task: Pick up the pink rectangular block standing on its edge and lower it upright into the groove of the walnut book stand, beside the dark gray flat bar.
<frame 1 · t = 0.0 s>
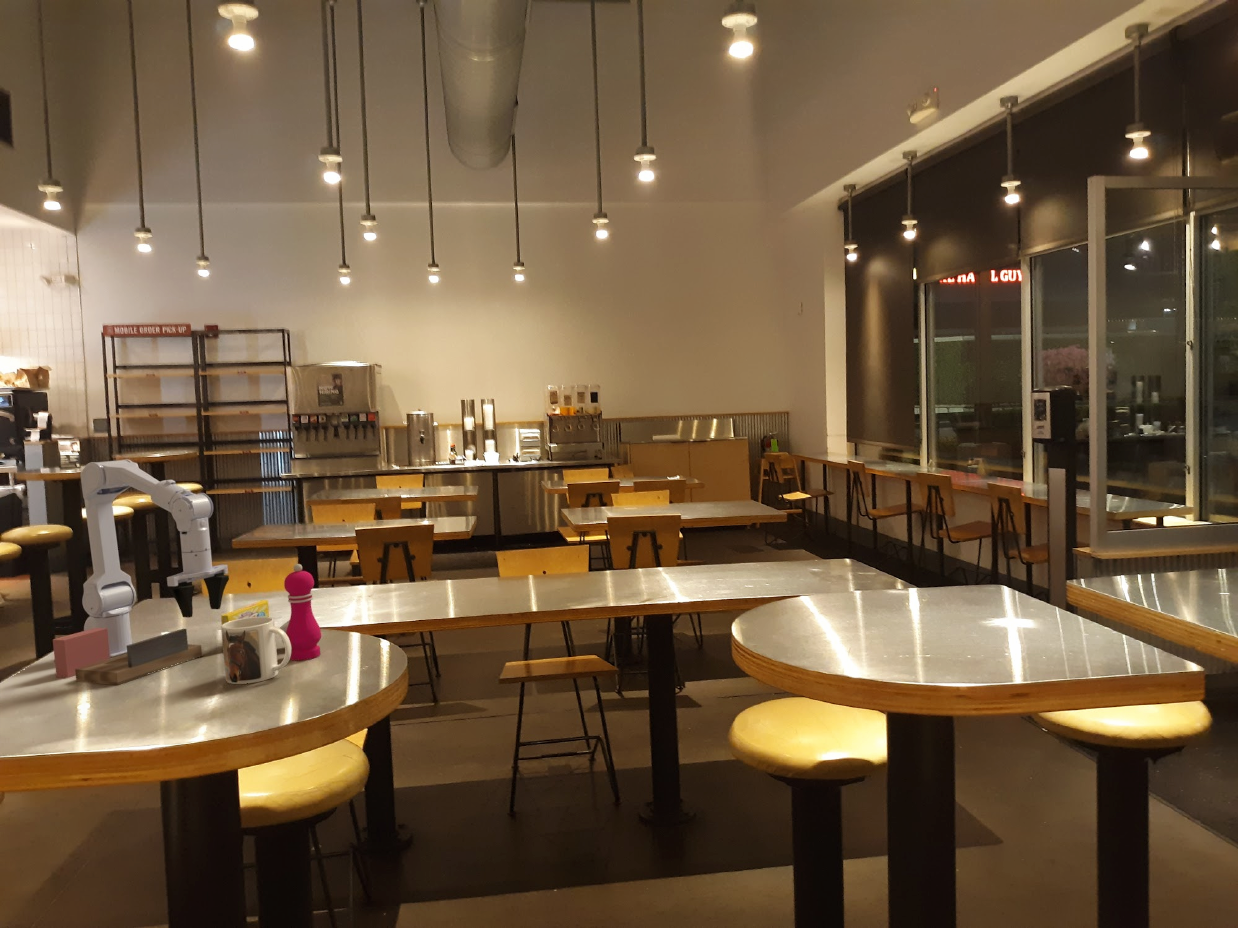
hand: (201, 612, 203), 10 cm above the table, tool pointing down, fingers open, 7 cm apart
candy box: (247, 643, 217), on the table
dark gray flat bar: (160, 669, 197), resting on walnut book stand
mug: (256, 678, 187), on the table
pepper mill: (305, 657, 201), on the table
white lumpy rounded piece: (295, 648, 209), on the table
pink rectangular block: (84, 670, 200), on the table
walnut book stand: (137, 667, 200), on the table
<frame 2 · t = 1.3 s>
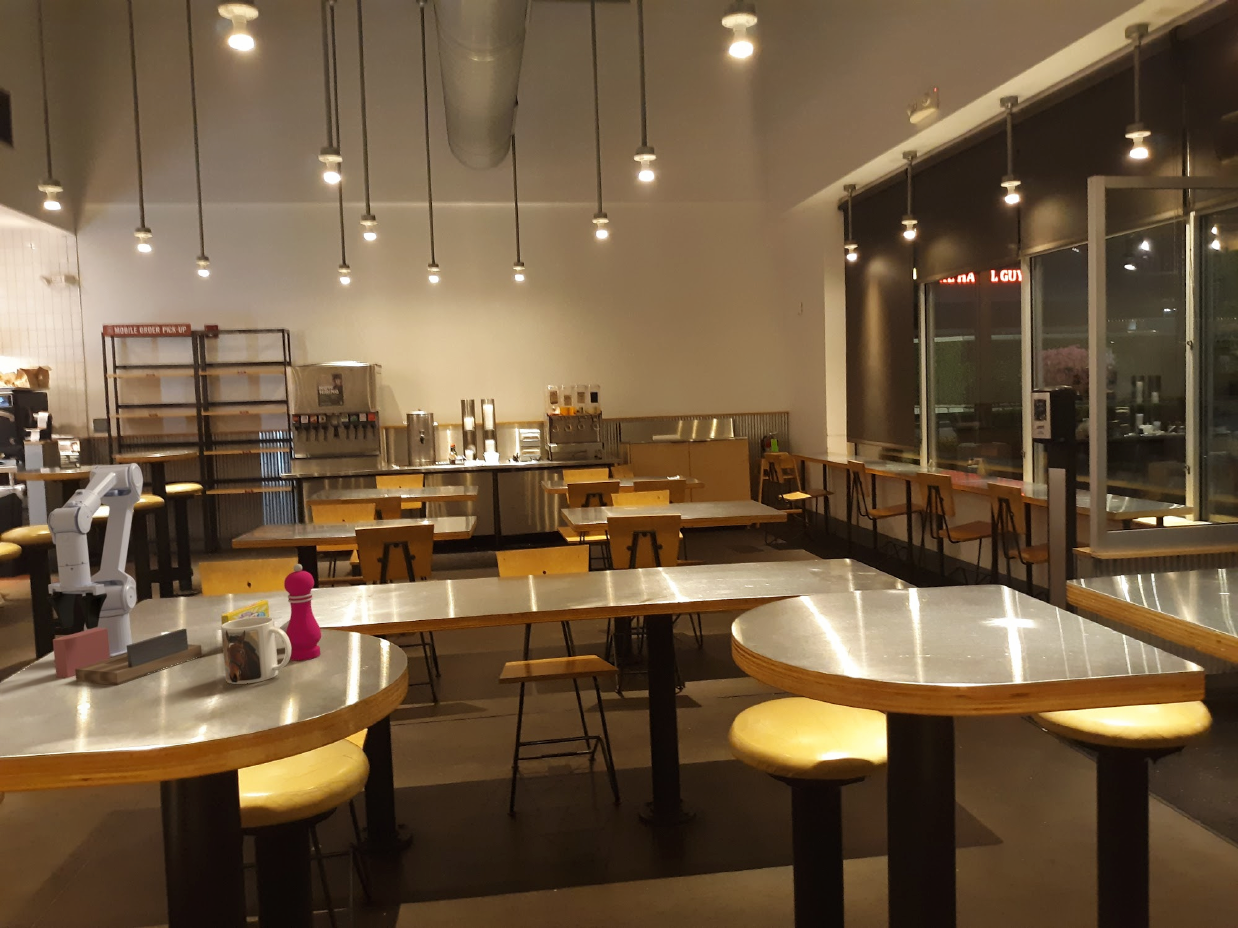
hand: (79, 627, 200), 9 cm above the table, tool pointing down, fingers open, 7 cm apart
nothing on the table moved.
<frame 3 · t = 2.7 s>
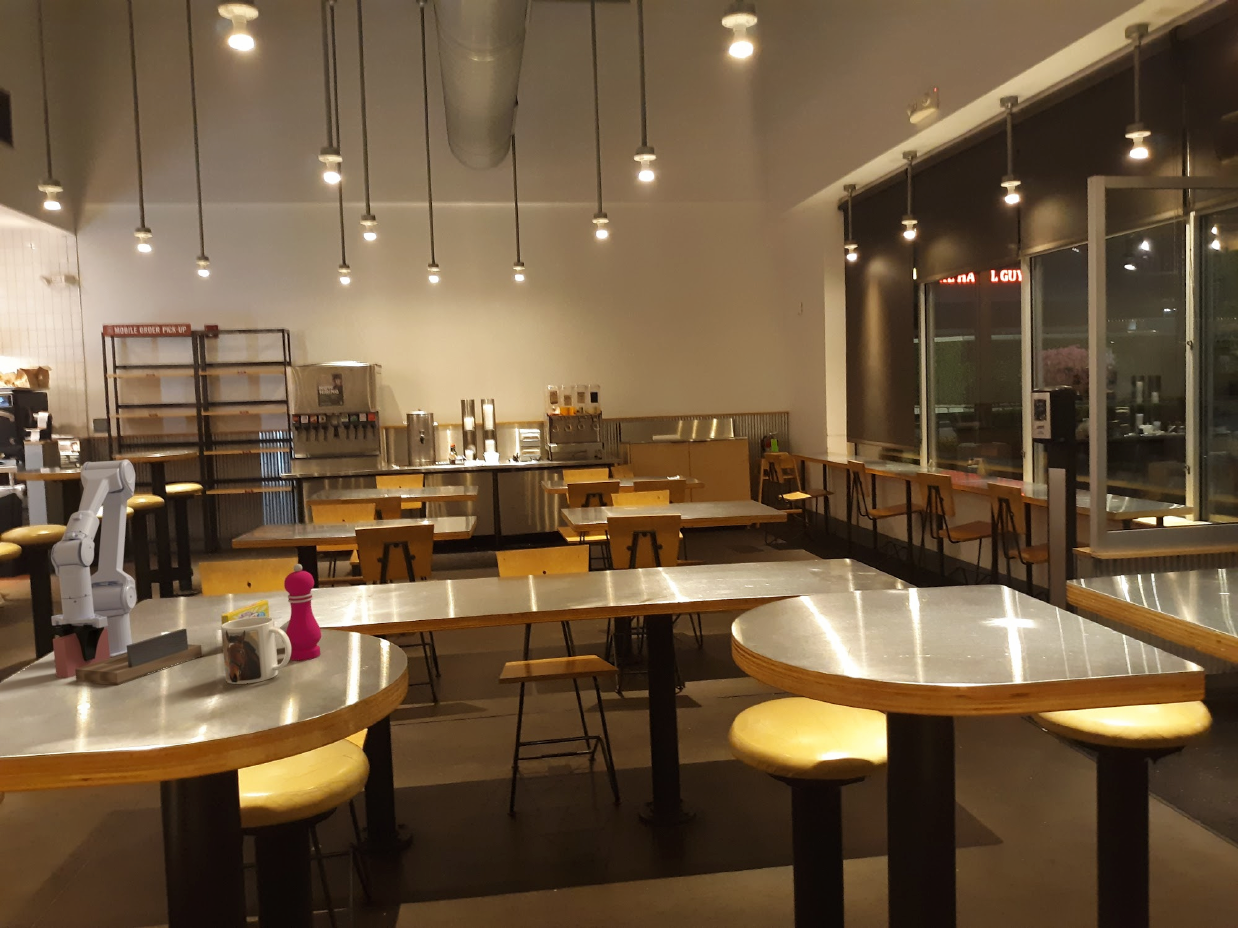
hand: (83, 659, 200), 2 cm above the table, tool pointing down, fingers closed on pink rectangular block, 3 cm apart
pink rectangular block: (84, 670, 200), on the table, touching gripper
everything else where it was.
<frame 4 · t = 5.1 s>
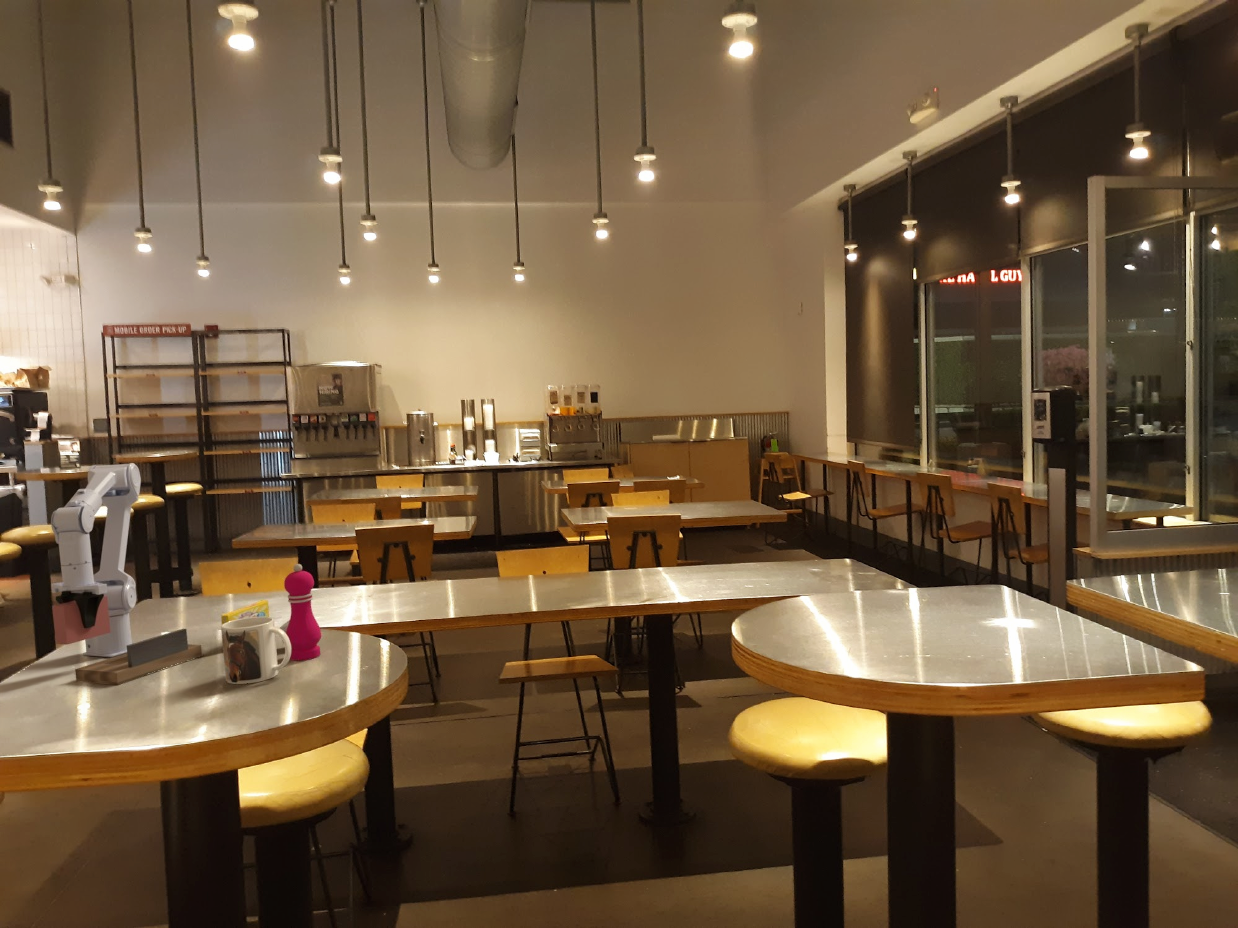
hand: (82, 626, 200), 9 cm above the table, tool pointing down, fingers closed on pink rectangular block, 3 cm apart
pink rectangular block: (83, 637, 200), point 7 cm above the table, touching gripper
everything else where it was.
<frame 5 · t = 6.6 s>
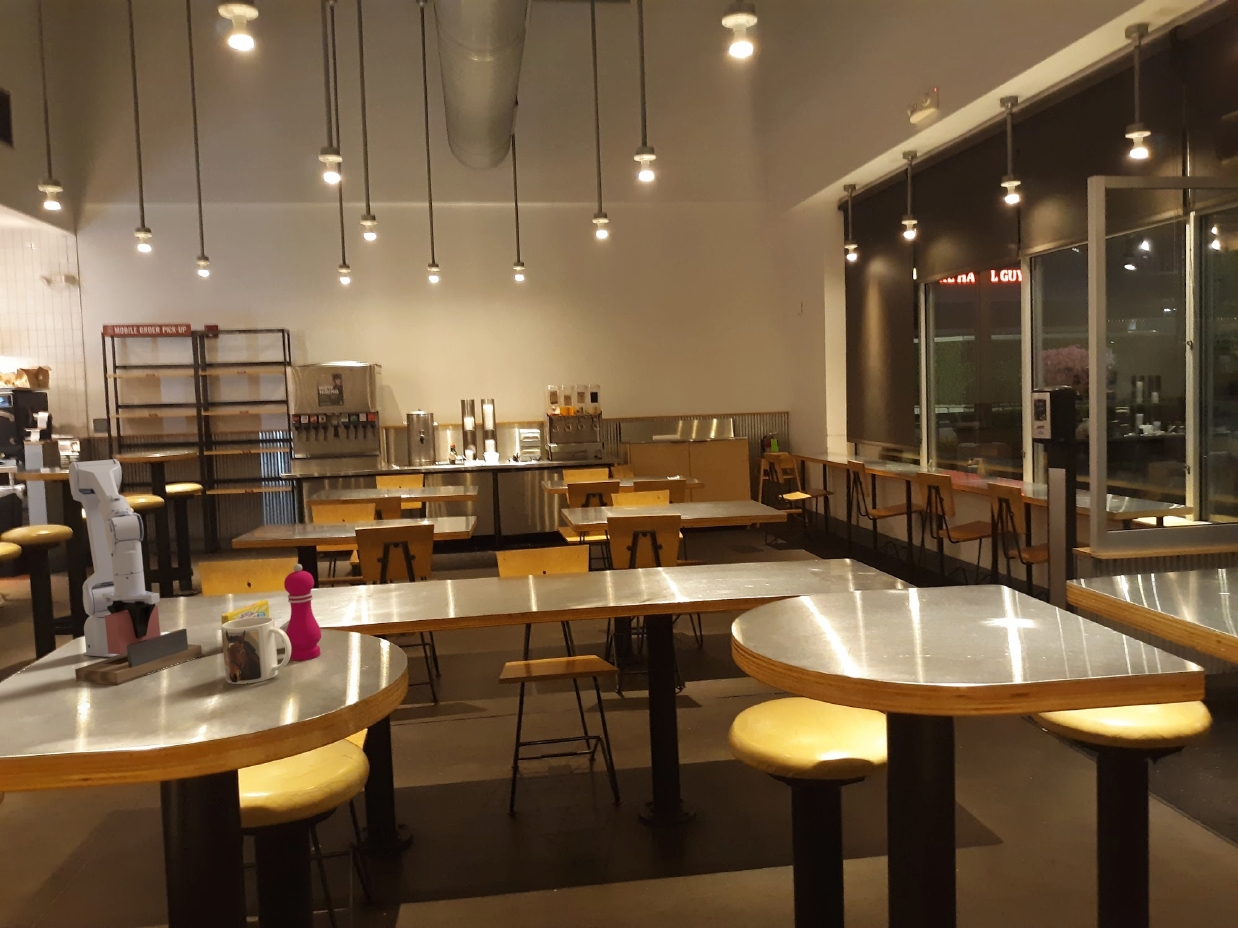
hand: (134, 636, 199), 7 cm above the table, tool pointing down, fingers closed on pink rectangular block, 3 cm apart
pink rectangular block: (135, 647, 199), point 4 cm above the table, touching gripper
everything else where it was.
when the fingers open (4 cm above the table, at t = 7.6 s): pink rectangular block stays where it is, resting on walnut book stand.
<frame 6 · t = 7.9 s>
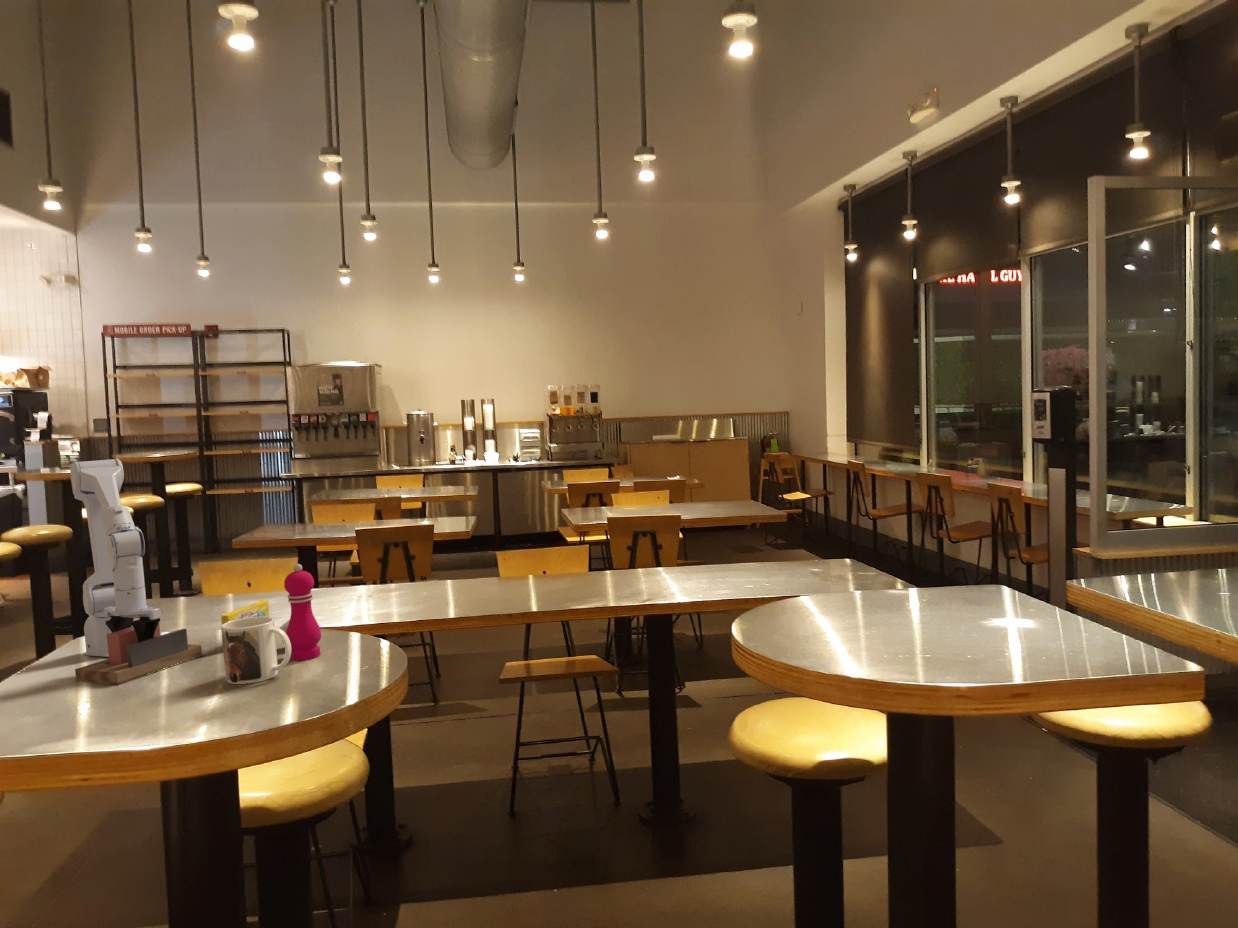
hand: (135, 651, 199), 4 cm above the table, tool pointing down, fingers open, 5 cm apart
pink rectangular block: (136, 665, 199), resting on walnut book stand
everything else where it was.
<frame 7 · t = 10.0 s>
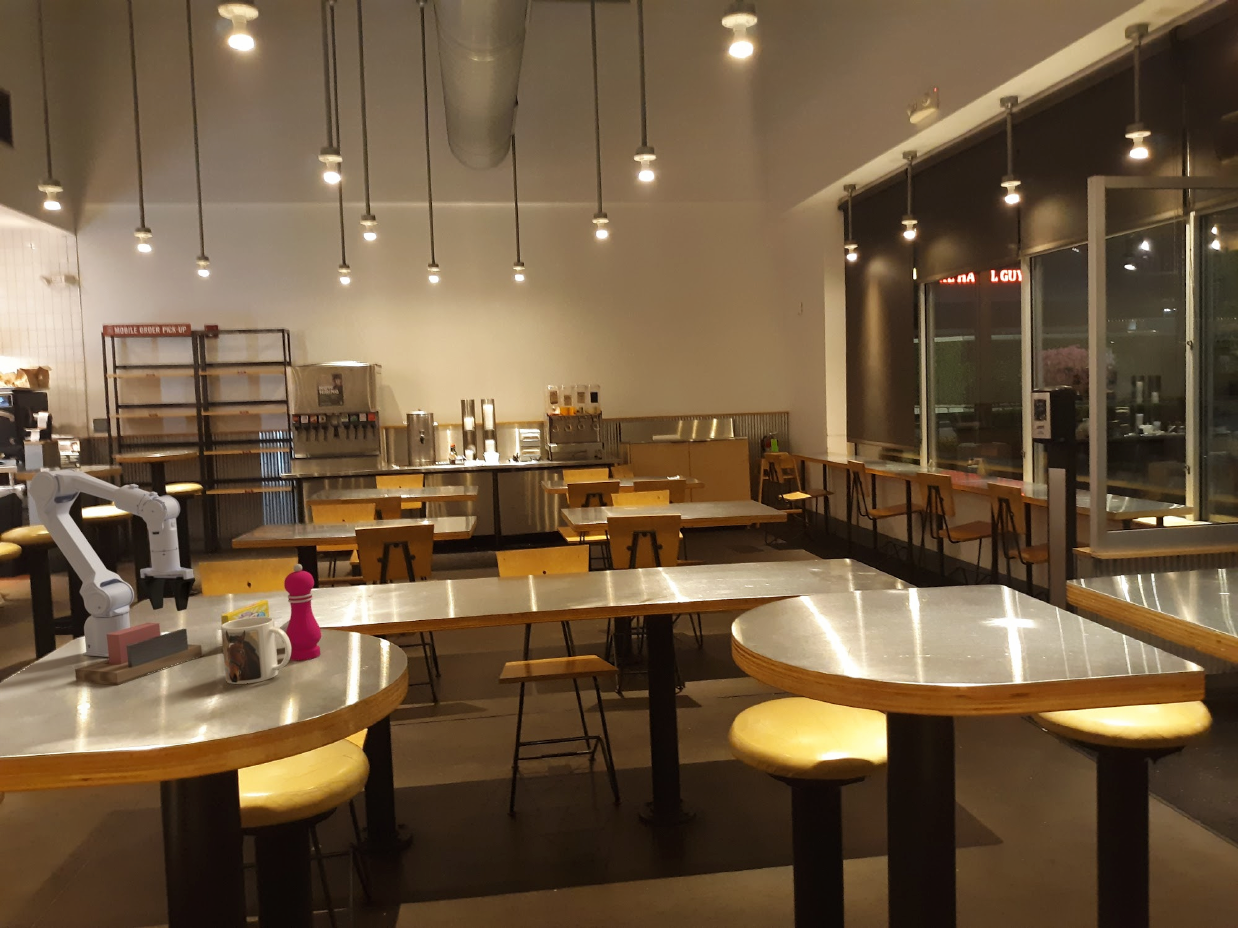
hand: (170, 609, 213), 9 cm above the table, tool pointing down, fingers open, 7 cm apart
nothing on the table moved.
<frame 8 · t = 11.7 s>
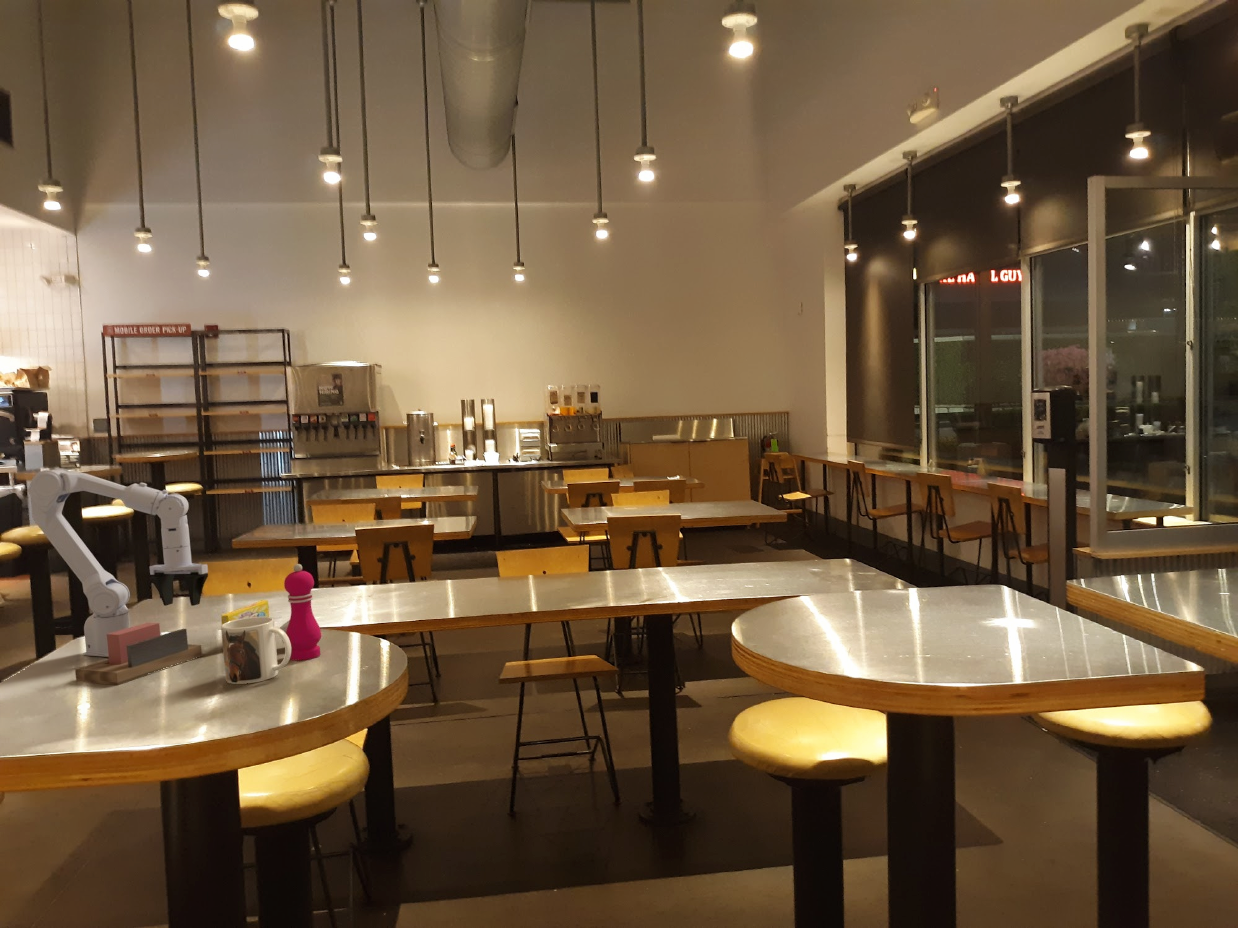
hand: (181, 604, 218), 9 cm above the table, tool pointing down, fingers open, 7 cm apart
nothing on the table moved.
at the end: pink rectangular block 0.1 cm off-centre on the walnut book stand, point 0.5 cm above the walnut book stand's base; pink rectangular block tilted 0°; the gripper is holding nothing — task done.
